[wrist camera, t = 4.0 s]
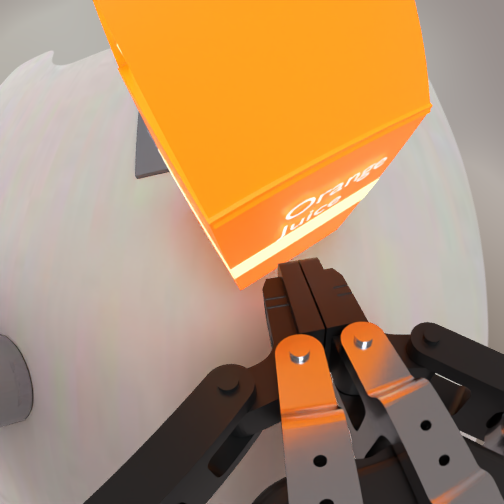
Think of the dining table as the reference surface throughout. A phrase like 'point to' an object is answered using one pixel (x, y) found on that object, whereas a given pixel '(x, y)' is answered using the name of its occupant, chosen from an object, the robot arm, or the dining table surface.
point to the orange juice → (272, 110)
